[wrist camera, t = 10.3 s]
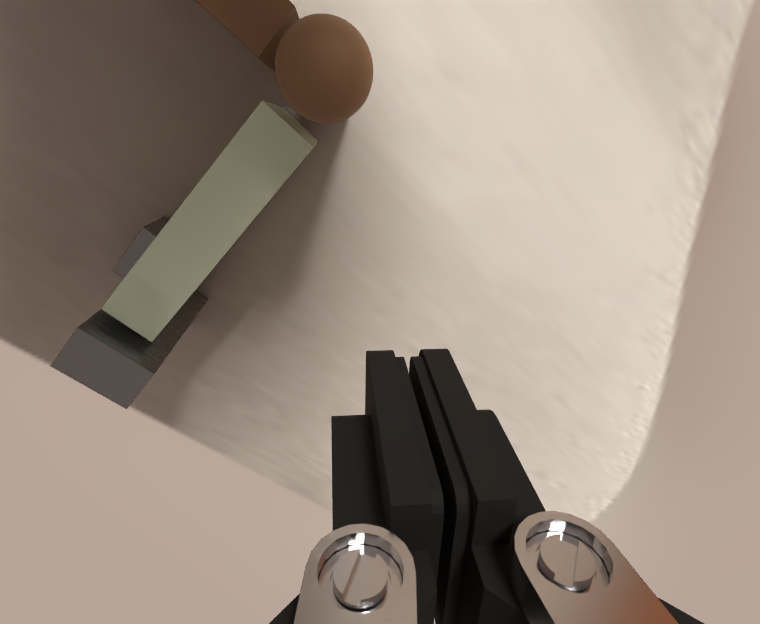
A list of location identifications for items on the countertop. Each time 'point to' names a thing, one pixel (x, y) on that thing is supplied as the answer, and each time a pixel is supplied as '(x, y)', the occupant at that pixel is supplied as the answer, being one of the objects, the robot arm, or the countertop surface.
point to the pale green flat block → (211, 219)
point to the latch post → (123, 340)
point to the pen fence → (303, 54)
